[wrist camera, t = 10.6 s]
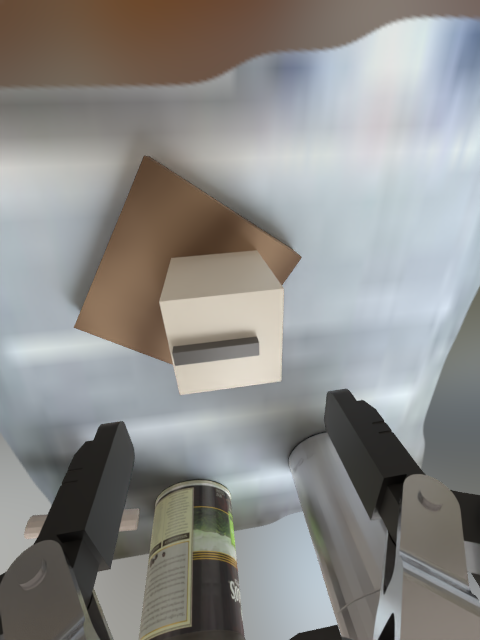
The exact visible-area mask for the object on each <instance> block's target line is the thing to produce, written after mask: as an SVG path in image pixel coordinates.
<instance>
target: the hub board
mask: <svg viewBox="0 0 480 640" xmlns="http://www.w3.org/2000/svg"><path fill="white" fill-rule="evenodd" d="M254 250H257V251H258V252H259V254H260V255H261V257H262V258H263V260H264V261H265V262H266V264H267V265H268V267H269V268H270V269H271V271H272V272H273V274H274V275H275V277H276V278H277V279H278V281H279V282H280V284H281V285H283V283H284V282H285V280H286V279H287V277H288V276H289V275H290V273H291V272H292V270H293V269H294V268H295V266H296V265H297V263H298V262H299V261H300V259H301V258H302V257H301V256H300V255H299V254H298V253H296V252H295V251H294V250H293V249H291V248H290V247H288V246H287V245H285V244H283V243H282V242H280V241H279V240H277V239H276V238H274V237H273V236H271V235H270V234H268V233H267V232H265V231H263V230H262V229H260V228H259V227H257V226H256V225H254V224H253V223H251V222H250V221H248V220H246V219H245V218H243V217H242V216H240V215H239V214H237V213H236V212H234V211H233V210H231V209H229V208H228V207H226V206H225V205H223V204H222V203H220V202H219V201H217V200H216V199H214V198H213V197H211V196H209V195H208V194H206V193H205V192H203V191H202V190H200V189H199V188H197V187H196V186H194V185H192V184H191V183H189V182H188V181H186V180H185V179H183V178H182V177H180V176H179V175H177V174H175V173H174V172H172V171H171V170H169V169H168V168H166V167H165V166H163V165H162V164H160V163H159V162H157V161H155V160H154V159H152V158H151V157H149V156H144V157H143V160H142V162H141V165H140V167H139V170H138V172H137V174H136V177H135V179H134V182H133V184H132V187H131V189H130V192H129V194H128V196H127V199H126V201H125V204H124V206H123V209H122V211H121V214H120V216H119V218H118V221H117V223H116V226H115V228H114V231H113V233H112V236H111V238H110V240H109V243H108V245H107V248H106V250H105V253H104V255H103V258H102V260H101V262H100V265H99V267H98V270H97V272H96V275H95V277H94V280H93V282H92V284H91V287H90V289H89V292H88V294H87V297H86V299H85V302H84V304H83V306H82V309H81V311H80V314H79V316H78V319H77V321H76V324H75V326H74V328H76V329H79V330H82V331H84V332H87V333H90V334H92V335H95V336H98V337H100V338H103V339H106V340H108V341H111V342H114V343H116V344H119V345H122V346H124V347H127V348H130V349H132V350H135V351H138V352H140V353H143V354H146V355H148V356H151V357H154V358H156V359H159V360H162V361H164V362H167V363H170V364H172V365H173V362H172V357H171V353H170V348H169V344H168V339H167V335H166V330H165V326H164V321H163V317H162V312H161V308H160V303H159V301H160V297H161V293H162V290H163V286H164V282H165V279H166V275H167V272H168V268H169V264H170V261H171V258H177V257H188V256H199V255H210V254H221V253H232V252H243V251H254Z"/></svg>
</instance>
